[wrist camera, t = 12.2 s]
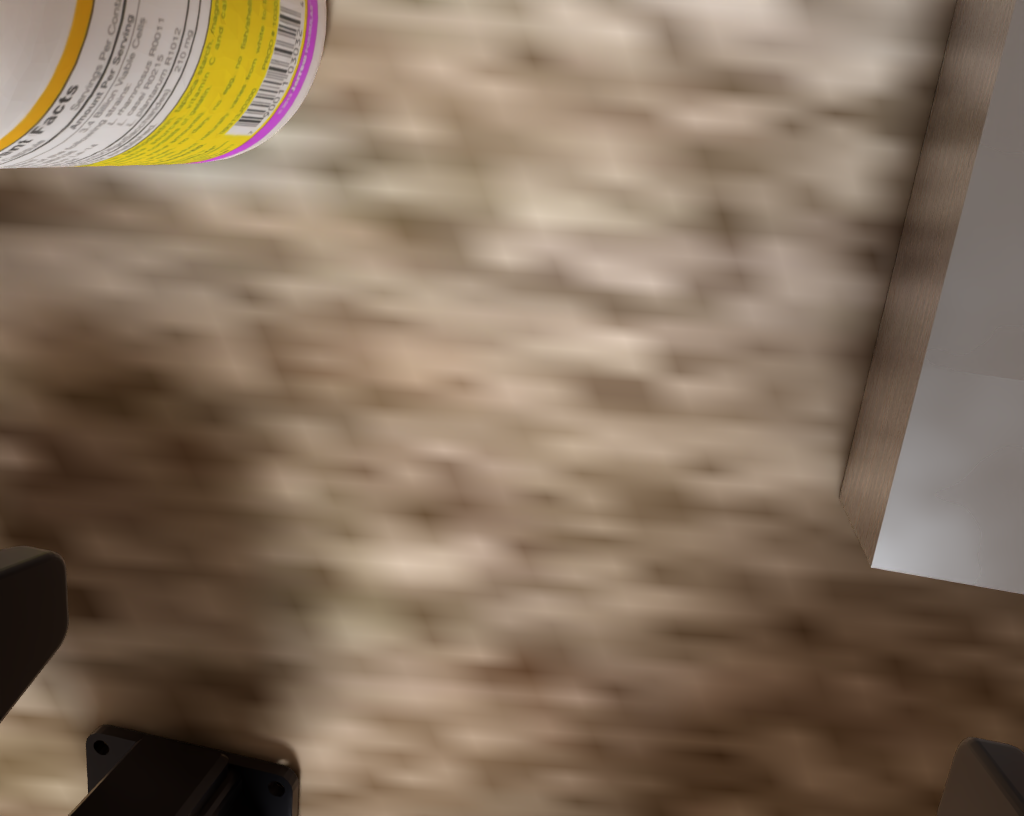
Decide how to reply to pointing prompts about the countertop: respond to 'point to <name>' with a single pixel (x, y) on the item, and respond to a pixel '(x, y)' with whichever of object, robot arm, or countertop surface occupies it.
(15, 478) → the countertop surface
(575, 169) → the countertop surface
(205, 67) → the supplement bottle
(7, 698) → the robot arm
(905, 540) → the block
